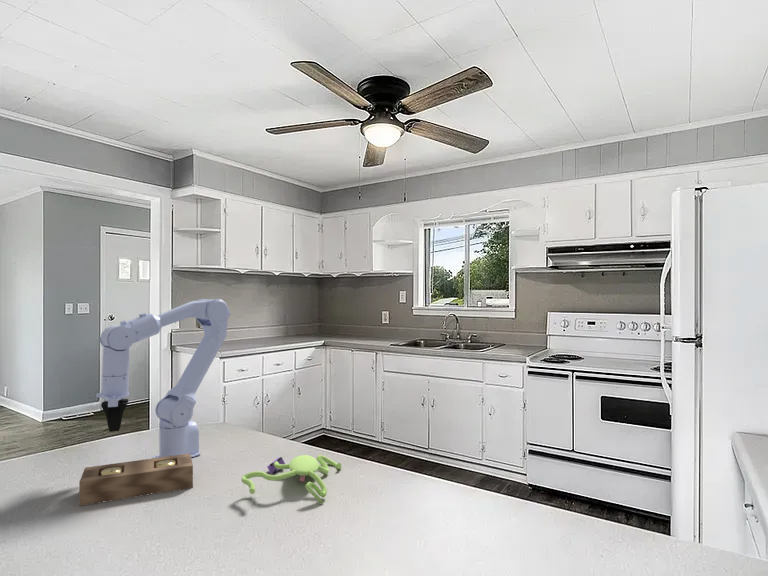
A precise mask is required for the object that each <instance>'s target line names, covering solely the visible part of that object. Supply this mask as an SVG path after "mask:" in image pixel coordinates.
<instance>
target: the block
mask: <svg viewBox="0 0 768 576" xmlns="http://www.w3.org/2000/svg"><path fill="white" fill-rule="evenodd" d="M164 460H174V461H175V465H172V466H165V467H158V468H156V464H157V463H158V462H160V461H164ZM112 467H120V468H122V473H116V474H109V475H102V476H101V471H102V470H104V469H107V468H112ZM193 487H194V465H193V460H192V457H191V454H190V453H189V454H182V455H175V456H167V457H160V458H152V457H151V458H146V459H139V460H131V461H124V462H116V463H109V464H103V465H95V466H87V467H84V468H83V472H82V475H81V476H80V480H79V488H78V489H79V492H78V493H79V495H78V496H79V498H78V499H79V501H78V503H79V505H78V506H79V507H81V505H82V506H87V505H86V504H89V505H92V504H91V503H95V504H99V503H98V502H101V503H104V502H103V501H107V502H111V501H110V500H113V501H118V500H117V499H119V500H123V499H122V498H125V499H130V498H129V497H132V498H136V497H135V496H138V497H141V496H140V495H144V496H148V495H147V494H150V495H152V494H151V493H156V494H161V493H160V492H162V493H167V492H166V491H168V492H174V491H173V490H175V491H179V489H181V490H186V489H191V488H192V489H193ZM158 492H159V493H158Z"/></svg>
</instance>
